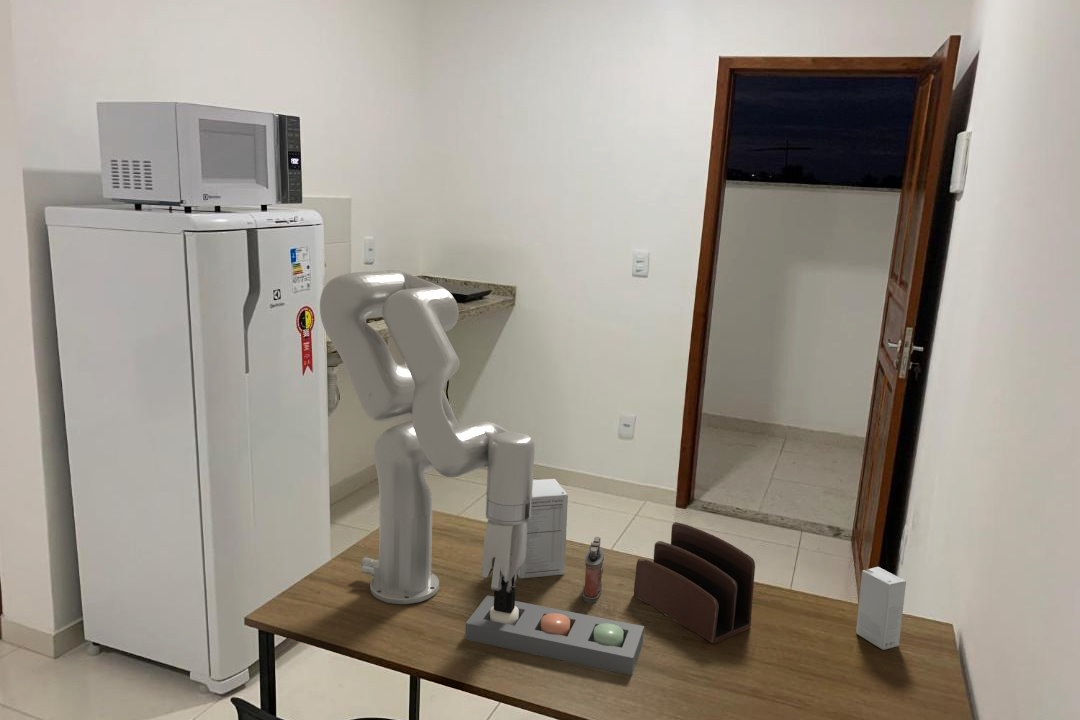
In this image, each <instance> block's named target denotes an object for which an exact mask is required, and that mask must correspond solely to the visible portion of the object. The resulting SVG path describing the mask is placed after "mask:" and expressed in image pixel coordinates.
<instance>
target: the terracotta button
mask: <svg viewBox="0 0 1080 720" xmlns="http://www.w3.org/2000/svg"><path fill="white" fill-rule="evenodd" d="M541 631H543V632H548V633H553V634H558V635H562V636H568V634H569V632H570V619H569V618H568V617H567V616H565V615H563V614H558V613H550V614H546V615H544V616H543V617H542V619H541Z"/></svg>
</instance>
